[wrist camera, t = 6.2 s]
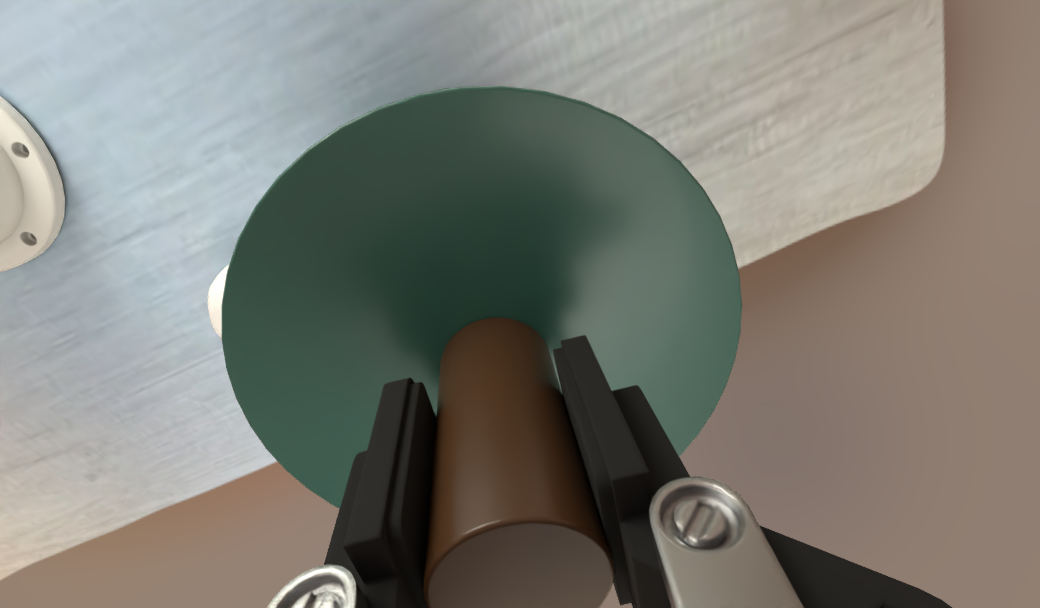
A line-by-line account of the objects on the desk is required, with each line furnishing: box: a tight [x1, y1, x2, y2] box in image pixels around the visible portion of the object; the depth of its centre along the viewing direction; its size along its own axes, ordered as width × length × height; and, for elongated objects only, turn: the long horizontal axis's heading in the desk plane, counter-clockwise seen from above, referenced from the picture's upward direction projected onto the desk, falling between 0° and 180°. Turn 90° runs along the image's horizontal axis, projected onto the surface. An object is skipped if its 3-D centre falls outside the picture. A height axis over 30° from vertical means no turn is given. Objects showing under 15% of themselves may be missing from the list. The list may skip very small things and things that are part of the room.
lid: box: [222, 86, 742, 608], centre depth 10 cm, size 13×13×7 cm
